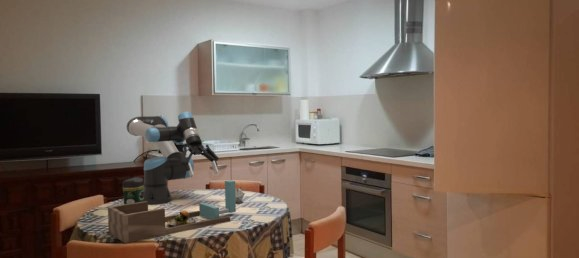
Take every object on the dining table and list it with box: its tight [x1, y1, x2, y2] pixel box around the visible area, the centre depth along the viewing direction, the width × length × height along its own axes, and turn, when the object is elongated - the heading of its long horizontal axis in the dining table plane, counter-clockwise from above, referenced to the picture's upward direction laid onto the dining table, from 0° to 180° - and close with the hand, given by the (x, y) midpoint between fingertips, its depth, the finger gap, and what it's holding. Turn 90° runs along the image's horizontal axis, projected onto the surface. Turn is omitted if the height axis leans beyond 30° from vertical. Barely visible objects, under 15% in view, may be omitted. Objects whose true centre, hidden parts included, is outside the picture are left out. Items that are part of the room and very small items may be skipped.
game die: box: [235, 186, 246, 203], centre depth 215 cm, size 9×8×10 cm
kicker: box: [198, 179, 237, 220], centre depth 185 cm, size 14×14×15 cm
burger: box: [166, 210, 196, 227], centre depth 174 cm, size 12×12×8 cm
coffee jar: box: [122, 176, 145, 205], centre depth 183 cm, size 10×8×19 cm
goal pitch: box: [107, 201, 231, 244], centre depth 171 cm, size 19×44×10 cm, turn 130°
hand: (204, 174), depth 206 cm, fingers open, 13 cm apart
